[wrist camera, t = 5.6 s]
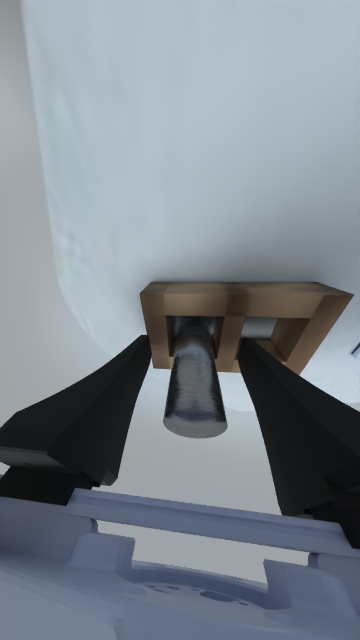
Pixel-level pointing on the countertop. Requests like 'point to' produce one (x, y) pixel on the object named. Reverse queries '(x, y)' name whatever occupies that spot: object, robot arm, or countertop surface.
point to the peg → (194, 384)
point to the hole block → (231, 309)
